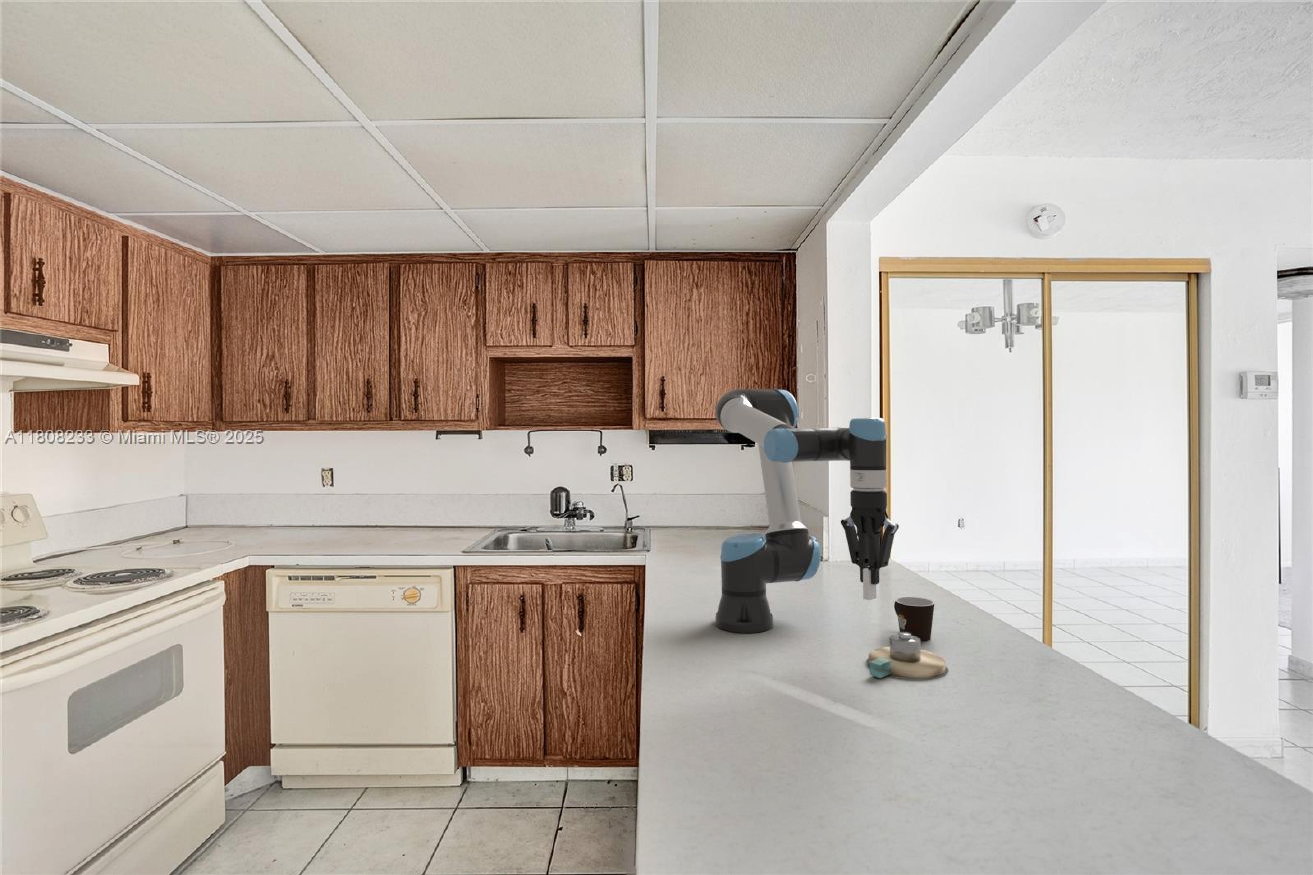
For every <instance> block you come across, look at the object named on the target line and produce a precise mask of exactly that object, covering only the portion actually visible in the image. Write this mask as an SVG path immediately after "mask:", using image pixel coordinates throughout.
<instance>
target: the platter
mask: <svg viewBox="0 0 1313 875" xmlns="http://www.w3.org/2000/svg"><path fill="white" fill-rule="evenodd" d="M920 650H921V660H920V661H919V662H914V663H906V662H899V661H896V660H893V659H892V658H890V646H883V647H878V648H874V649H872V650H870V651H869V653H868V658H869V665H870V667H869V675H870V676H872V677H875V678H879V679H882V678H884V677H886V676H887V675H892V676H896V677H902V678H911V679H928V678H935V677H938V676H941V675H943V674H944V673H945V671H946V666H947V665H946V664H947V663H946V660H945V659H944V658H943V657H942V656H941V655H939V654H937V653H935V652H931V651H928V650H924V649H921V648H920Z"/></svg>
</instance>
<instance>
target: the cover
mask: <svg viewBox="0 0 1313 875" xmlns="http://www.w3.org/2000/svg"><path fill="white" fill-rule="evenodd" d="M889 647H890V658H892V659H893V660H896V661H899V662H906V663H914V662H919V661H920V660H921V650H922V649H921V642H920V639H919V638H918V637H915V636H911V634H910V633H907V632H900V631H899V632H898V634H893V635H890V636H889ZM920 649H921V650H920Z"/></svg>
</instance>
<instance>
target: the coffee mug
mask: <svg viewBox="0 0 1313 875" xmlns="http://www.w3.org/2000/svg"><path fill="white" fill-rule="evenodd" d="M893 608H894V611H895V612H894V613H895V614H896V616H897V621H898V627H899V628H898V630H899V633H900V632H907V633H910V634H911V636H915V637H918V638H919V639H920V643H921V642H922V643H923V642H929V641H931V636H932V628H933V622H934V621H933V620H934V611H935V601H934V600H931V599H930V598H929V599H928V598H924V597H918V596H917V597H916V596H903V597H902V596H901V597H897V598H896V599H895V601H894V604H893Z"/></svg>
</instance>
